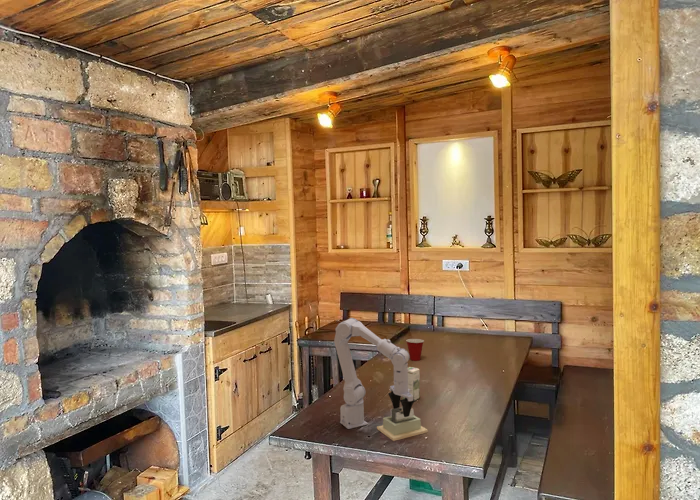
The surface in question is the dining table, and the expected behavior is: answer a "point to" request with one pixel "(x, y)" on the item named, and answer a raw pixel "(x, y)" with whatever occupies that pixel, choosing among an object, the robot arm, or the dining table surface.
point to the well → (401, 428)
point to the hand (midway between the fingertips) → (401, 413)
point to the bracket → (400, 415)
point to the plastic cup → (415, 348)
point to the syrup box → (414, 382)
